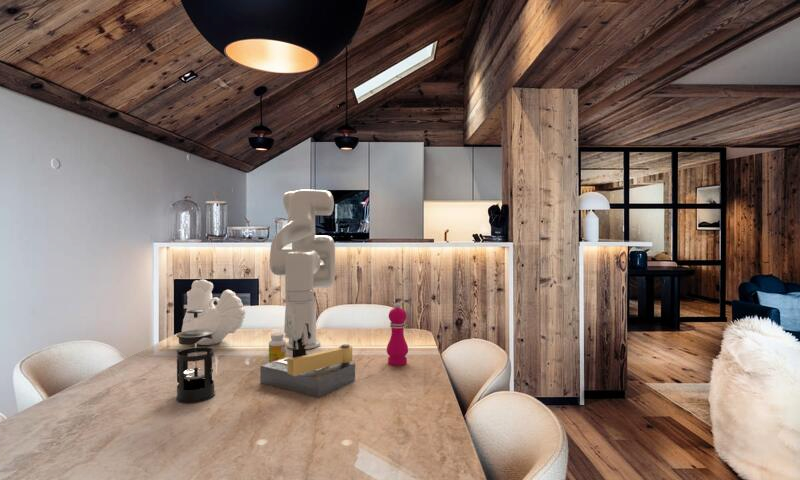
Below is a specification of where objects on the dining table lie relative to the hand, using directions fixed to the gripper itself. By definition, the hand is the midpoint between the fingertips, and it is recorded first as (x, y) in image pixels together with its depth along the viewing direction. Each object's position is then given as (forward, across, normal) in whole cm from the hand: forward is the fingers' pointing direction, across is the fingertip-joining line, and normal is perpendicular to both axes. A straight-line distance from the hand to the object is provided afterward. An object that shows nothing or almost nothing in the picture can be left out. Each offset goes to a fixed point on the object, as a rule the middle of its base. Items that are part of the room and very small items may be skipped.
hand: (299, 362), depth 120 cm
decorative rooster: (+8, -64, -11) cm, 66 cm away
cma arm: (+2, +2, +6) cm, 7 cm away
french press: (+8, -11, -25) cm, 28 cm away
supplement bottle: (+8, -27, +2) cm, 29 cm away
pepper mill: (+8, -6, +36) cm, 38 cm away
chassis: (+8, -5, +5) cm, 10 cm away
